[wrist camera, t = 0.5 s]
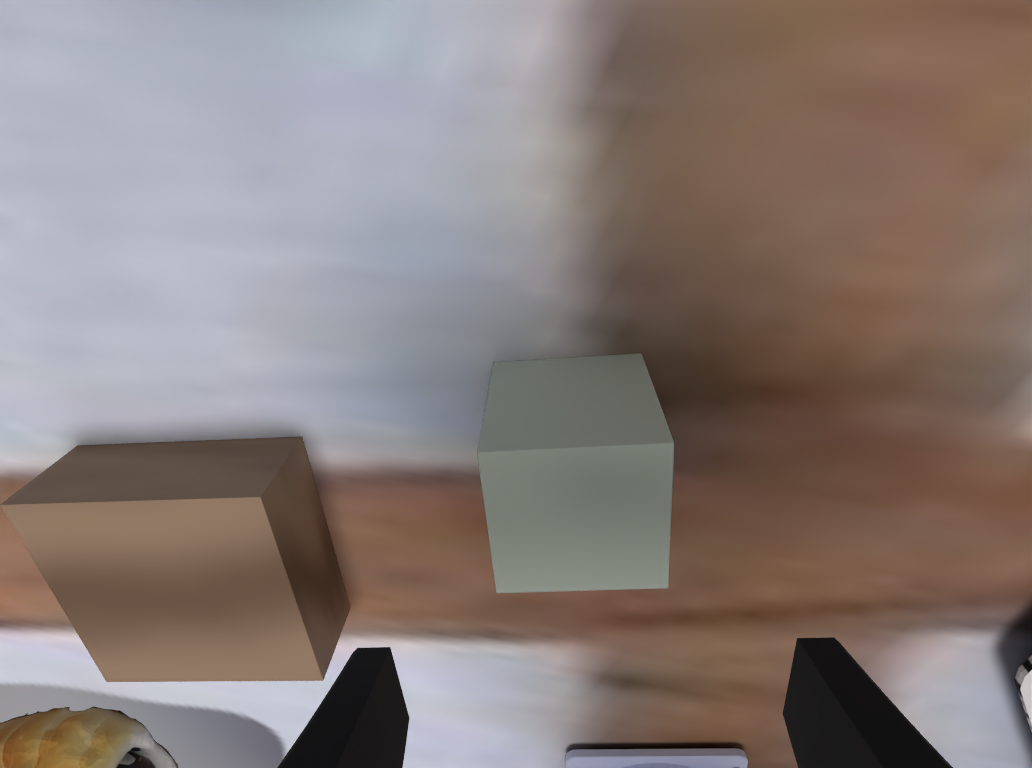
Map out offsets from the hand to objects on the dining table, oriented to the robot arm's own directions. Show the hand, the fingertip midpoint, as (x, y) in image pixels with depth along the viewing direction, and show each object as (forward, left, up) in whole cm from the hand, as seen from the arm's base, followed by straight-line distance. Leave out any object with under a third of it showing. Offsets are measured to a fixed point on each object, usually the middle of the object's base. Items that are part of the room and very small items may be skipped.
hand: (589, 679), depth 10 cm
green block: (0, 0, -9) cm, 9 cm away
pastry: (-17, +24, -10) cm, 31 cm away
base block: (-4, +13, -10) cm, 17 cm away
